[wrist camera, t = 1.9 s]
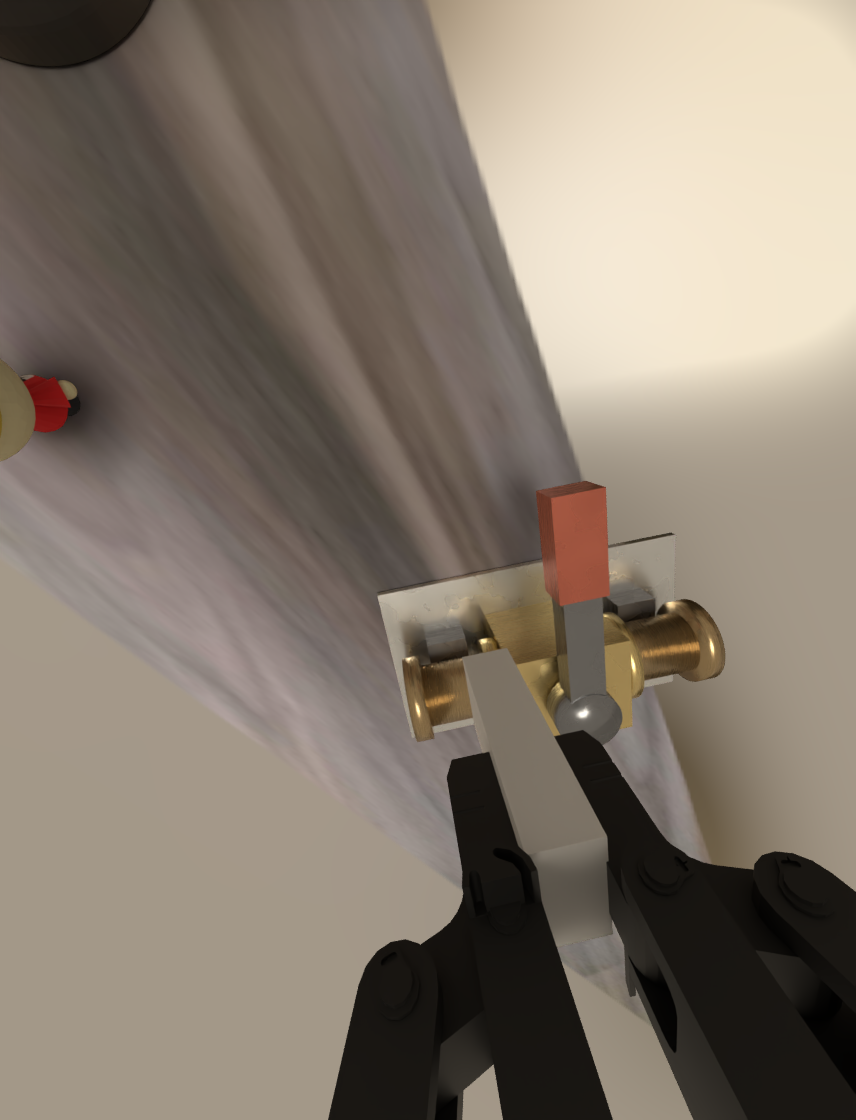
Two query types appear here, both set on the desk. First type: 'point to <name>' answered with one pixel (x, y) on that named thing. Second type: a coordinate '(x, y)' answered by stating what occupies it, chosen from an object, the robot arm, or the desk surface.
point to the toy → (31, 407)
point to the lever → (578, 606)
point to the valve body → (544, 633)
